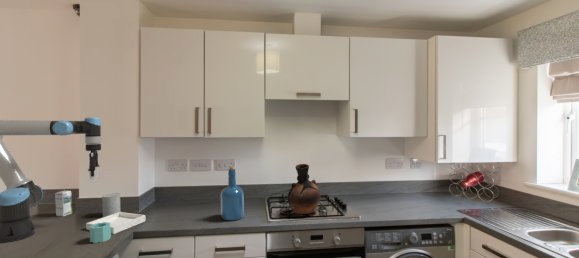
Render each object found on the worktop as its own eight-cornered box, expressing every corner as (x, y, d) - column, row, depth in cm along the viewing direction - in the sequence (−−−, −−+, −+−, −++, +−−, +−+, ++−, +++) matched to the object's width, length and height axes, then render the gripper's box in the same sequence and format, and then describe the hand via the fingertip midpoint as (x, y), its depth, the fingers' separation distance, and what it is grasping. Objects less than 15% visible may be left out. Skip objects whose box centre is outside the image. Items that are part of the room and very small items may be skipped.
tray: (113, 234, 147) (113, 227, 146) (86, 229, 153) (85, 223, 153) (145, 220, 165) (145, 215, 165) (119, 217, 172) (119, 211, 172)
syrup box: (63, 216, 175) (62, 192, 175) (55, 215, 176) (54, 192, 176) (72, 213, 181) (71, 190, 180) (64, 213, 182) (63, 190, 181)
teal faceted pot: (98, 243, 135) (98, 229, 135) (86, 241, 138) (86, 227, 137) (114, 237, 142) (113, 223, 142) (102, 235, 145) (102, 221, 145)
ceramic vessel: (314, 207, 188) (314, 161, 187) (326, 215, 171) (325, 165, 170) (283, 210, 181) (283, 163, 180) (292, 219, 164) (292, 167, 163)
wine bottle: (235, 222, 161) (234, 169, 160) (216, 219, 166) (215, 167, 166) (248, 215, 173) (247, 165, 172) (230, 212, 179) (229, 164, 178)
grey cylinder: (106, 218, 170) (105, 197, 170) (99, 215, 176) (99, 195, 176) (123, 214, 178) (122, 194, 178) (116, 211, 184) (116, 192, 183)
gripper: (98, 144, 159) (99, 183, 159) (102, 142, 181) (103, 175, 181) (82, 145, 155) (83, 184, 156) (88, 142, 177) (89, 176, 178)
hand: (94, 179), depth 169 cm, fingers open, 13 cm apart
